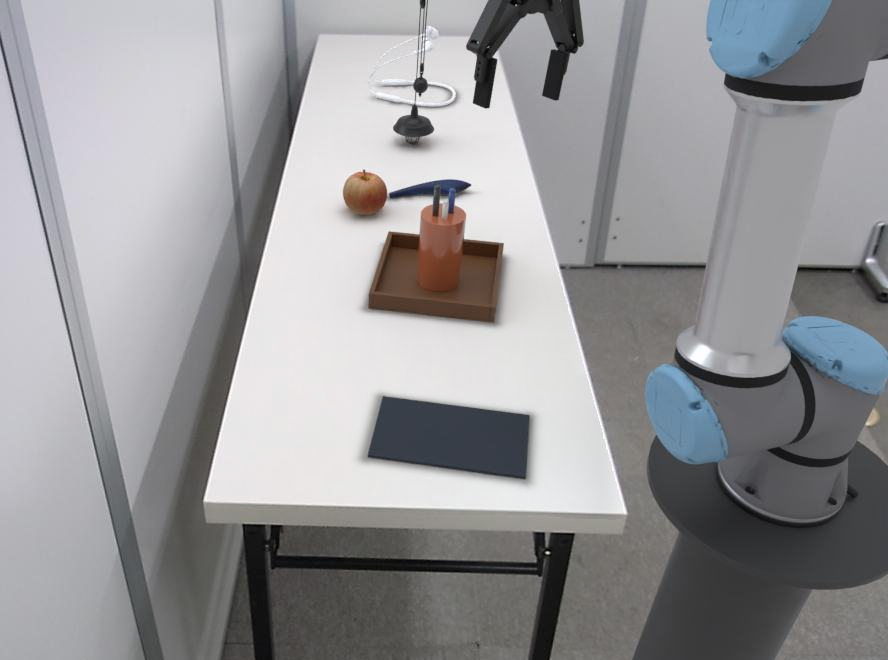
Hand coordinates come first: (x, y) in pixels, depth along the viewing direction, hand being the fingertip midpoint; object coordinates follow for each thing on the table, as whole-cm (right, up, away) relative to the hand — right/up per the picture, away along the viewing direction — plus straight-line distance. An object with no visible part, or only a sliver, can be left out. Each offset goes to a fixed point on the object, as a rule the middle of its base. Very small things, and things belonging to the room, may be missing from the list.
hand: (516, 102), depth 129 cm
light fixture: (-11, +10, +58) cm, 60 cm away
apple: (-21, -8, +36) cm, 43 cm away
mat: (-11, -48, -11) cm, 50 cm away
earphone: (-9, +28, +79) cm, 84 cm away
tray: (-9, -23, +18) cm, 31 cm away
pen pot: (-9, -23, +18) cm, 31 cm away
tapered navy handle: (-9, -4, +41) cm, 42 cm away
